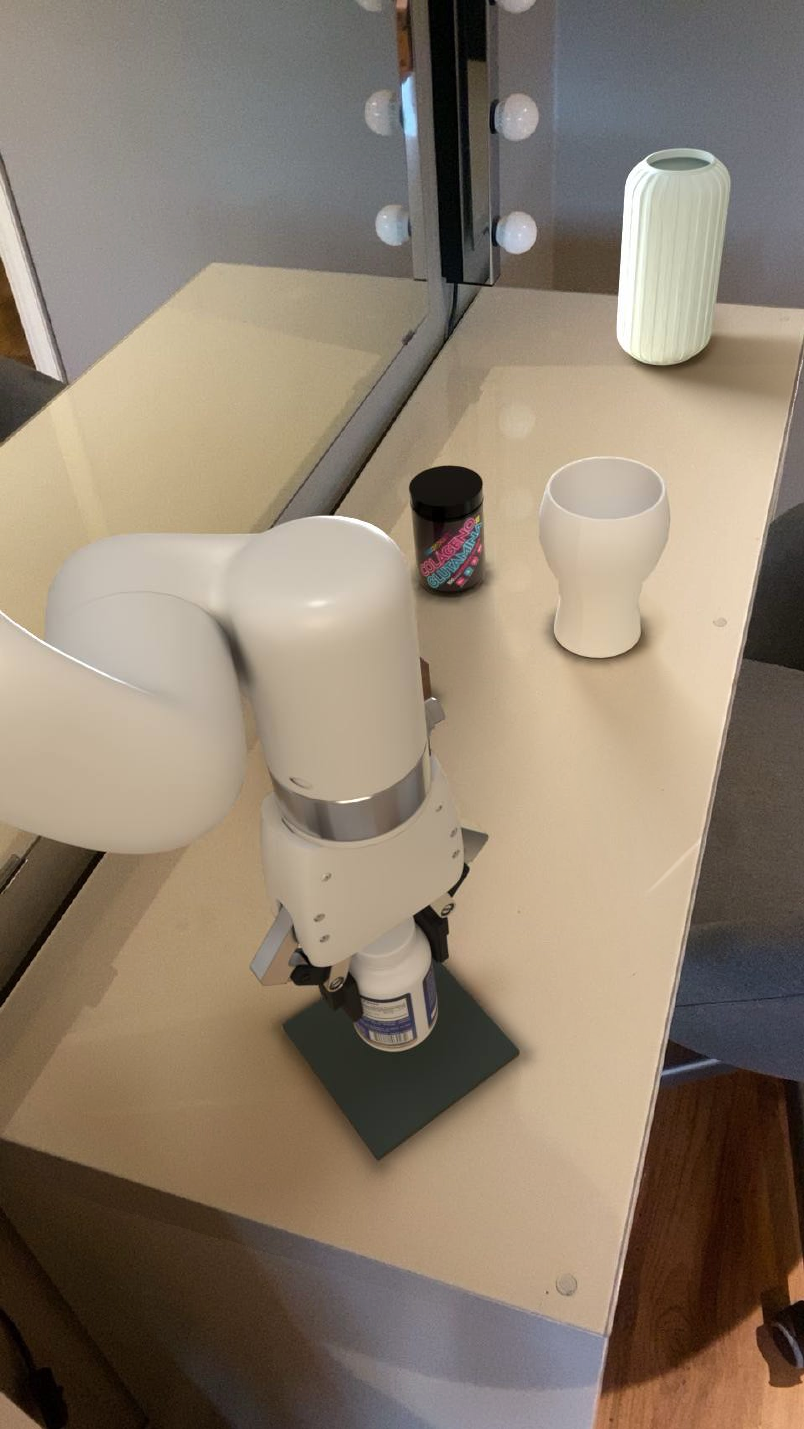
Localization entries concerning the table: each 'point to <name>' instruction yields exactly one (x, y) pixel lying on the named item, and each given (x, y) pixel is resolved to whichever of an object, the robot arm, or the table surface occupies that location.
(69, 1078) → the table surface
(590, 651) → the cup
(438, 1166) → the table surface
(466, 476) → the supplement container
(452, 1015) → the pad
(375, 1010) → the pill bottle
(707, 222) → the vase
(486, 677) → the table surface
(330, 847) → the robot arm
